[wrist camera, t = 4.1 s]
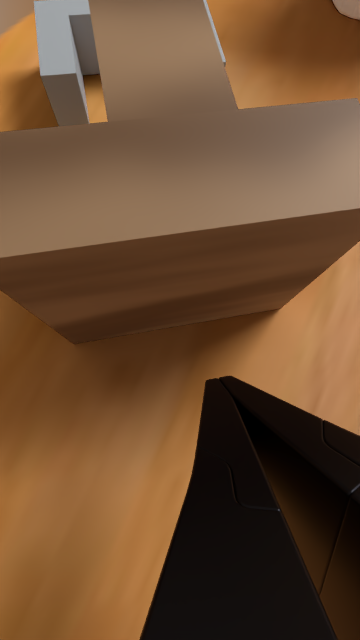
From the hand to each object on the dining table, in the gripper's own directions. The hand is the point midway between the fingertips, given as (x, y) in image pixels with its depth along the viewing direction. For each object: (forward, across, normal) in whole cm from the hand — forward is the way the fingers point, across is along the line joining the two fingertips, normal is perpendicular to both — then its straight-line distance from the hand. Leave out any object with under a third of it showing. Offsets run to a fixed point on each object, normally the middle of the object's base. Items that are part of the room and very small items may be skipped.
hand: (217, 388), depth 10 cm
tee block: (+13, 0, +3) cm, 13 cm away
